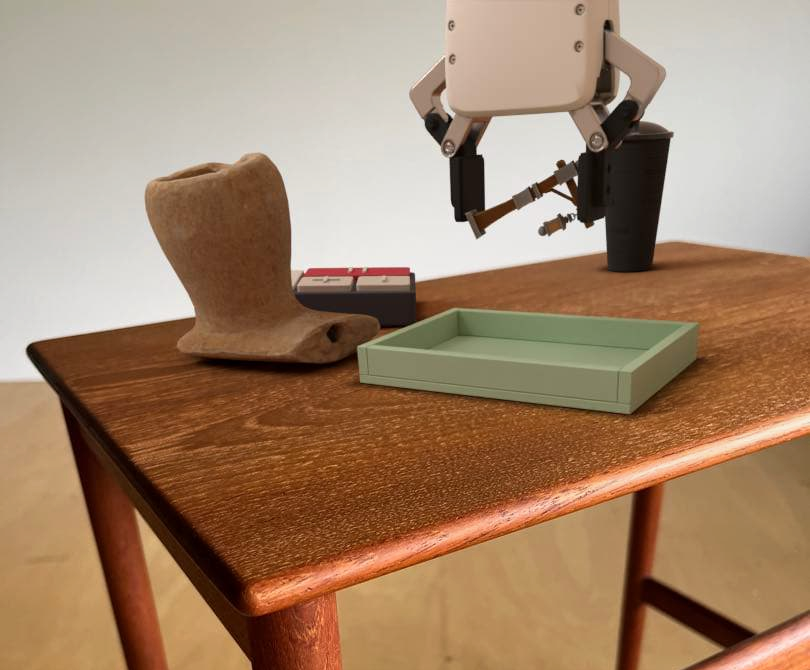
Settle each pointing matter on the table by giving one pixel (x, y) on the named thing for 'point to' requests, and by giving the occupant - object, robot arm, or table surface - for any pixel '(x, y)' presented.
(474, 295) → the table surface
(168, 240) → the boot-shaped pottery piece
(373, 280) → the dark box with panels
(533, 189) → the wooden post with brackets
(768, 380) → the table surface
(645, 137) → the drinking cup
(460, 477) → the table surface
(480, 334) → the tray
